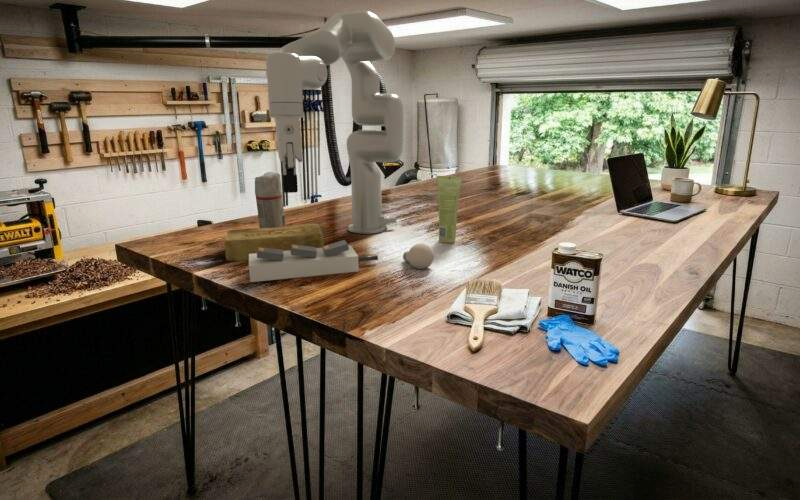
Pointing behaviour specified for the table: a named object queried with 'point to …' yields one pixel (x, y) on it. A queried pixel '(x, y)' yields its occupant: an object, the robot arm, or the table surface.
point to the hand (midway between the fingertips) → (290, 191)
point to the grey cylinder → (269, 200)
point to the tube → (448, 206)
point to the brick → (270, 239)
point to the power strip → (304, 265)
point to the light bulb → (419, 256)
